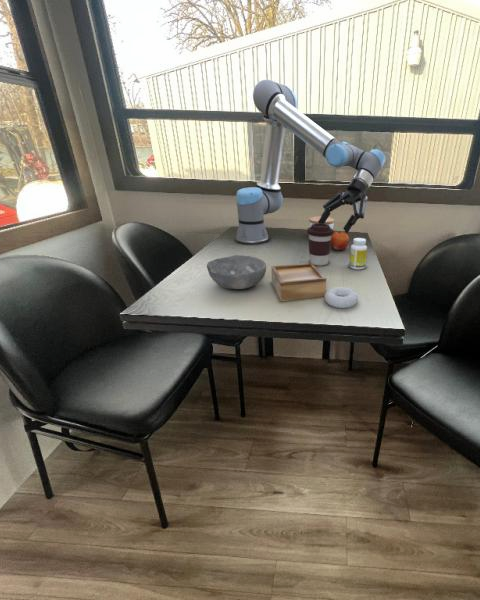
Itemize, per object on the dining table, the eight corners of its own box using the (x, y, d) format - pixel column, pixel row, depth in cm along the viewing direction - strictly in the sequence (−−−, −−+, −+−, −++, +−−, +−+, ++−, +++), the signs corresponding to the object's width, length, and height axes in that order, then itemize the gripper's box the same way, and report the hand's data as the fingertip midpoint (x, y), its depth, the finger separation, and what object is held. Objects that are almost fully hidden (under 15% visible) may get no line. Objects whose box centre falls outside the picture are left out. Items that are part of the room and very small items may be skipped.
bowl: (276, 291, 93) (275, 267, 90) (219, 303, 85) (216, 277, 81) (255, 272, 107) (253, 250, 103) (204, 281, 98) (201, 258, 94)
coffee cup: (329, 268, 113) (331, 229, 106) (303, 265, 115) (304, 227, 108) (333, 260, 122) (335, 223, 115) (309, 257, 123) (310, 221, 116)
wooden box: (271, 283, 99) (271, 266, 96) (311, 279, 103) (312, 262, 100) (281, 301, 87) (280, 283, 84) (325, 296, 92) (326, 278, 89)
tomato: (347, 252, 132) (348, 234, 128) (326, 250, 133) (327, 233, 129) (349, 246, 140) (350, 229, 136) (329, 244, 141) (330, 228, 137)
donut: (353, 295, 93) (322, 294, 92) (355, 285, 92) (323, 284, 91) (360, 310, 84) (325, 310, 83) (361, 300, 83) (326, 299, 82)
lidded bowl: (307, 233, 158) (308, 212, 153) (331, 233, 160) (332, 212, 155) (309, 240, 147) (310, 217, 142) (334, 240, 149) (336, 218, 144)
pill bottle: (366, 266, 117) (370, 238, 112) (362, 271, 112) (365, 242, 107) (352, 263, 119) (354, 236, 114) (346, 268, 114) (349, 240, 109)
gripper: (388, 195, 114) (360, 239, 111) (340, 188, 130) (315, 226, 127) (382, 181, 108) (353, 227, 106) (333, 175, 124) (306, 215, 121)
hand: (332, 227), depth 116 cm, fingers open, 13 cm apart
